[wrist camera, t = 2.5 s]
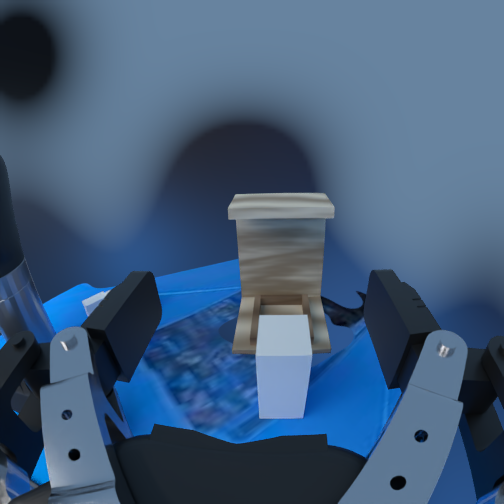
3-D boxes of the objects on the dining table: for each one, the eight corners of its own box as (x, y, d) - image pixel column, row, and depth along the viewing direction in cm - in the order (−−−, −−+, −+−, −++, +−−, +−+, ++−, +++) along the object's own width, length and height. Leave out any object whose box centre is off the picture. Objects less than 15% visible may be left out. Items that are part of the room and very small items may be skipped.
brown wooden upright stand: (330, 352, 38) (346, 225, 30) (232, 353, 39) (217, 226, 31) (318, 295, 51) (324, 193, 43) (243, 296, 52) (235, 194, 44)
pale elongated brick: (303, 418, 28) (312, 355, 23) (259, 418, 29) (255, 355, 24) (300, 378, 34) (307, 312, 29) (262, 379, 34) (259, 313, 30)
